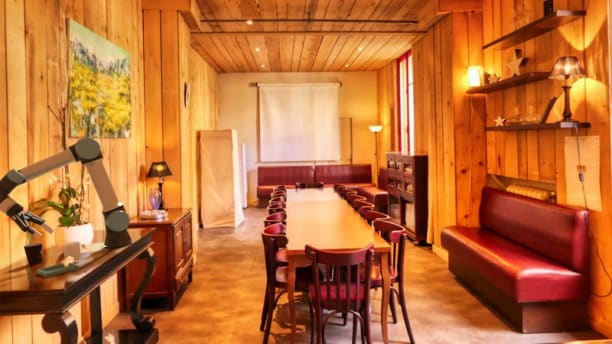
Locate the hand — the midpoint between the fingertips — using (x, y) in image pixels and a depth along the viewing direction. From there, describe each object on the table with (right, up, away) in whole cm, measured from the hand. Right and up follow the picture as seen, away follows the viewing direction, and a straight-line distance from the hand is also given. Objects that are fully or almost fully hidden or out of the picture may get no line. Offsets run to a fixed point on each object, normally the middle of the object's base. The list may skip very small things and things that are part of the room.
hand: (46, 234), depth 234 cm
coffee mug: (-11, -17, +12) cm, 23 cm away
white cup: (+13, -15, +2) cm, 20 cm away
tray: (+13, -16, -14) cm, 25 cm away
